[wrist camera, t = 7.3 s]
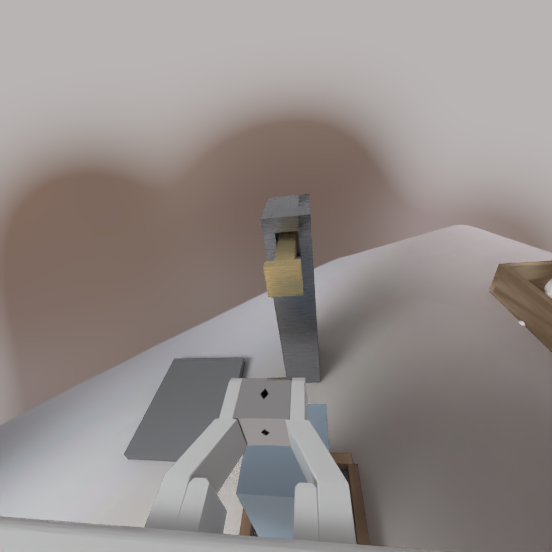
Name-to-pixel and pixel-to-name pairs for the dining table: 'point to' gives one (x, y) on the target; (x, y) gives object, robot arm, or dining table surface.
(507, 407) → the dining table surface
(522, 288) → the display box
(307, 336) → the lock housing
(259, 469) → the block
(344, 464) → the socket frame
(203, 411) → the mat
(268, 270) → the bolt
